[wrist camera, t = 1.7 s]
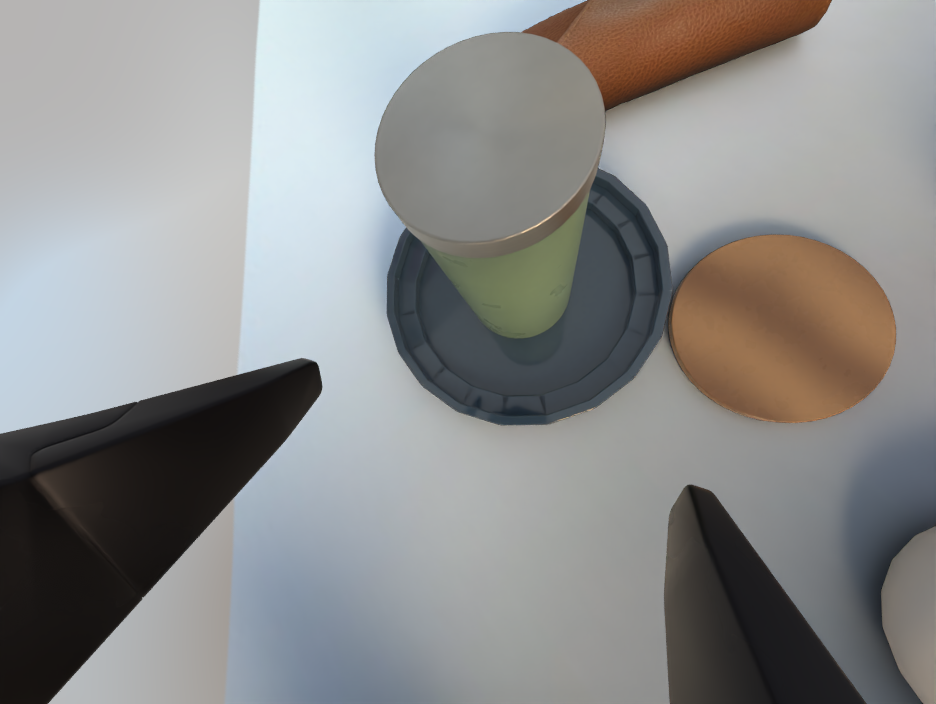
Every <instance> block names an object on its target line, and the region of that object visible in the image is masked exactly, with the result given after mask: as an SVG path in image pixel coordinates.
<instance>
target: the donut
mask: <svg viewBox="0 0 936 704" xmlns="http://www.w3.org/2000/svg"><path fill="white" fill-rule="evenodd" d="M881 602H882V626H883V629H884V632H885V634H886V637H887V640H888V642H889V645H890V648H891V650H892V653H893V656H894V658H895V661H896V664H897V666H898V668H899V670H900V672H901V674H902V675H903V677H904V678H905V679H906V681H907V682H908V683H909V685H910V686H911V688H912V689H913V690H914V692H915V693H916V694H917V696H918V697H919V699H920V700H921V701H922V703H923V704H936V526H935V527H932V528H930V529H928V530H926V531H924V532H922V533H920V534H917V535H915V536H914V537H913V538H912V539H911V540H910V541H909V542H908V544H907V545H906V546H905V547H904V548H903V549H902V550H901V551H900V552H899V553H898V554H897V555H896V556H895V557H894V558H893V559H892V562H891V565H890V567H889V570H888V573H887V576H886V578H885V581H884V584H883V587H882V589H881Z"/></svg>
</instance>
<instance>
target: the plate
mask: <svg viewBox="0 0 936 704" xmlns="http://www.w3.org/2000/svg"><path fill="white" fill-rule="evenodd" d="M672 290H673V288H672V280H671V271H670V263H669V255H668V246H667V244H666V242H665V240H664V238H663V236H662V234H661V232H660V230H659V228H658V226H657V224H656V222H655V220H654V218H653V217H652V215H651V213H650V211H649V209H648V207H647V206H646V204H645V203H644V202H642V201H641V200H640V199H639V198H638V197H637V196H636V195H635V194H634V193H633V192H632V191H631V190H629V189H628V188H627V187H626V186H625V185H624V184H623V183H622V182H621V181H620V180H619V179H618V178H616V177H615V176H614V175H612V174H610V173H607V172H605V171H603V170H601V169H597V173H596V176H595V179H594V181H593V183H592V186H591V188H590V193H589V198H588V203H587V209H586V214H585V219H584V224H583V229H582V235H581V240H580V245H579V250H578V255H577V261H576V266H575V271H574V276H573V282H572V287H571V292H570V297H569V301H568V304H567V307H566V309H565V311H564V313H563V315H562V316H561V317H560V319H559V320H558V321H557V322H556V323H555V324H554V325H553V326H552V327H550V328H549V329H548V330H546V331H544V332H543V333H540V334H538V335H536V336H532V337H528V338H517V339H516V338H508V337H504V336H501V335H498V334H496V333H494V332H493V331H491V330H490V329H488V328H487V327H486V326H485V325H484V324H483V323H482V322H481V321H480V320H479V318H478V317H477V316H476V314H475V313H474V312H473V310H472V309H471V308H470V306H469V305H468V304H467V302H466V301H465V300H464V298H463V297H462V296H461V294H460V293H459V292H458V290H457V289H456V288H455V286H454V285H453V284H452V282H451V281H450V280H449V278H448V277H447V276H446V274H445V273H444V272H443V270H442V269H441V268H440V266H439V265H438V264H437V262H436V261H435V260H434V258H433V257H432V256H431V254H430V253H429V252H428V250H427V249H426V248H425V246H424V245H423V244H422V242H421V241H420V240H419V239H418V238H417V237H415V236H414V235H413V234H412V233H411V232H410V231H409V230H408V229H407V228H406V229H405V230H404V232H403V233H402V234H401V236H400V238H399V241H398V244H397V247H396V250H395V253H394V256H393V259H392V262H391V265H390V268H389V272H388V276H387V317H388V320H389V324H390V327H391V330H392V333H393V337H394V340H395V343H396V347H397V350H398V352H399V354H400V356H401V357H402V359H403V360H404V362H405V363H406V364H407V366H408V367H409V369H410V370H411V371H412V373H413V374H414V376H415V377H416V378H417V380H418V381H419V383H420V384H421V385H422V386H423V387H424V388H425V389H426V390H428V391H429V392H431V393H432V394H433V395H435V396H436V397H437V398H439V399H440V400H442V401H443V402H444V403H446V404H447V405H449V406H450V407H451V408H453V409H454V410H455V411H457V412H460V413H463V414H466V415H469V416H472V417H475V418H479V419H482V420H485V421H488V422H491V423H495V424H498V425H547V424H551V423H554V422H557V421H560V420H563V419H566V418H569V417H572V416H575V415H578V414H580V413H583V412H586V411H589V410H592V409H594V408H596V407H598V406H599V405H600V404H601V403H603V402H604V401H605V400H607V399H608V398H609V397H611V396H612V395H613V394H615V393H616V392H617V391H618V390H620V389H621V388H622V387H624V386H625V385H626V384H628V383H629V382H630V381H631V380H633V379H634V378H635V377H636V375H637V374H638V372H639V371H640V369H641V368H642V366H643V365H644V363H645V362H646V360H647V359H648V357H649V355H650V354H651V352H652V351H653V349H654V348H655V346H656V345H657V343H658V342H659V340H660V339H661V337H662V334H663V329H664V325H665V321H666V317H667V313H668V309H669V305H670V301H671V296H672Z"/></svg>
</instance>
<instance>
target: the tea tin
mask: <svg viewBox="0 0 936 704" xmlns="http://www.w3.org/2000/svg"><path fill="white" fill-rule="evenodd" d="M605 125H606V122H605V108H604V103H603V99H602V95H601V92H600V90H599V87H598V85H597V82H596V80H595V79H594V77H593V75H592V74H591V72H590V70H589V69H588V68H587V67H586V65H585V64H584V63H583V62H582V61H581V59H579V58H578V57H577V56H576V55H575V54H574V53H572V52H571V51H570V50H568V49H567V48H565V47H564V46H562V45H560V44H559V43H556V42H554V41H552V40H549V39H547V38H544V37H541V36H537V35H533V34H527V33H520V32H499V33H490V34H485V35H480V36H475V37H472V38H469V39H466V40H463V41H460V42H458V43H456V44H453V45H451V46H449V47H447V48H445V49H444V50H442V51H440V52H438V53H436V54H435V55H434V56H432V57H431V58H429V59H428V60H426V61H425V62H424V63H423V64H421V65H420V66H419V67H418V68H417V69H416V70H414V71H413V72H412V73H411V74H410V75H409V77H408V78H407V79H406V80H405V81H404V82H403V83H402V84H401V86H400V87H399V88H398V90H397V91H396V92H395V94H394V95H393V97H392V99H391V100H390V102H389V104H388V105H387V108H386V110H385V112H384V114H383V116H382V119H381V122H380V125H379V128H378V132H377V137H376V142H375V168H376V174H377V178H378V183H379V185H380V188H381V191H382V193H383V195H384V197H385V199H386V201H387V202H388V204H389V206H390V207H391V208H392V210H393V211H394V212H395V213H396V215H397V216H398V217H399V219H400V220H401V221H402V222H403V224H404V225H405V226H406V228H407V229H408V230H409V231H410V232H411V233H412V234H413V235H414V236H415V237H417V238H418V239H419V240H420V241H421V242H422V244H423V245H424V246H425V248H426V249H427V250H428V252H429V253H430V254H431V256H432V257H433V258H434V260H435V261H436V262H437V264H438V265H439V266H440V268H441V269H442V270H443V272H444V273H445V274H446V276H447V277H448V278H449V280H450V281H451V282H452V284H453V285H454V286H455V288H456V289H457V290H458V292H459V293H460V294H461V296H462V297H463V298H464V300H465V301H466V302H467V304H468V305H469V306H470V308H471V309H472V310H473V312H474V313H475V314H476V316H477V317H478V318H479V320H480V321H481V322H482V323H483V324H484V325H485V326H486V327H487V328H488V329H490V330H491V331H493V332H494V333H496V334H498V335H501V336H504V337H508V338H516V339H517V338H528V337H532V336H536V335H538V334H540V333H543V332H544V331H546V330H548V329H549V328H550V327H552V326H553V325H554V324H555V323H556V322H557V321H558V320H559V319H560V317H561V316H562V315H563V313H564V311H565V309H566V307H567V304H568V301H569V297H570V292H571V287H572V282H573V276H574V271H575V266H576V261H577V255H578V250H579V245H580V240H581V235H582V229H583V224H584V219H585V214H586V209H587V203H588V198H589V193H590V188H591V186H592V183H593V181H594V179H595V176H596V173H597V169H598V165H599V161H600V156H601V152H602V147H603V142H604V135H605Z"/></svg>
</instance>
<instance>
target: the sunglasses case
mask: <svg viewBox="0 0 936 704" xmlns="http://www.w3.org/2000/svg"><path fill="white" fill-rule="evenodd" d="M831 1H832V0H587V1H585V2H583V3H580V4H578V5H576V6H574V7H572V8H568V9H566V10H564V11H562V12H560V13H558V14H556V15H554V16H551V17H549V18H548V19H546V20H544V21H542V22H539V23H538V24H536V25H534V26H532V27H530V28H529V29H526V30H524V31H523V32H521V33H527V34H533V35H537V36H541V37H544V38H547V39H549V40H552V41H554V42H556V43H559V44H560V45H562V46H564V47H565V48H567V49H568V50H570V51H571V52H572V53H574V54H575V55H576V56H577V57H578V58H579V59H581V61H582V62H583V63H584V64H585V65H586V67H587V68H588V69H589V70H590V72H591V74H592V75H593V77H594V79H595V80H596V82H597V85H598V87H599V90H600V92H601V95H602V99H603V103H604V108H605V111H607V110H609V109H611V108H613V107H615V106H617V105H619V104H621V103H625V102H629V101H631V100H633V99H636V98H638V97H640V96H643V95H646V94H648V93H651V92H654V91H656V90H659V89H661V88H663V87H666V86H668V85H670V84H673V83H675V82H678V81H680V80H682V79H685V78H687V77H689V76H692V75H694V74H697V73H700V72H703V71H706V70H708V69H711V68H713V67H716V66H718V65H721V64H723V63H726V62H728V61H731V60H733V59H736V58H739V57H741V56H744V55H746V54H749V53H751V52H754V51H756V50H759V49H762V48H765V47H767V46H770V45H773V44H776V43H778V42H780V41H783V40H785V39H787V38H790V37H793V36H796V35H799V34H801V33H803V32H805V31H807V30H809V29H811V28H813V27H815V26H816V25H817V24H818V23H819V21H820V20H821V18H822V17H823V16H824V14H825V13H826V11H827V9H828V7H829V5H830V3H831Z"/></svg>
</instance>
